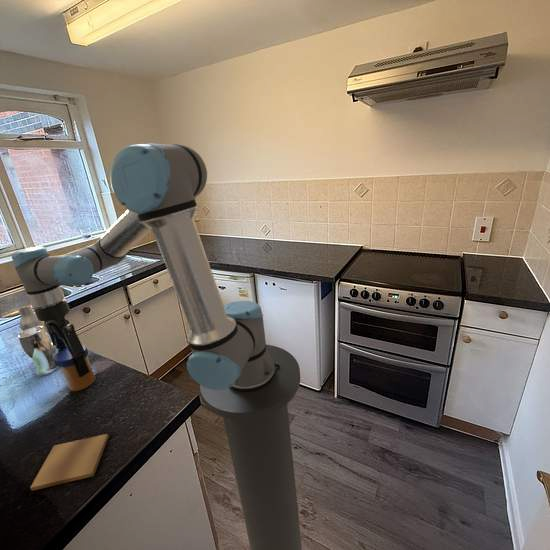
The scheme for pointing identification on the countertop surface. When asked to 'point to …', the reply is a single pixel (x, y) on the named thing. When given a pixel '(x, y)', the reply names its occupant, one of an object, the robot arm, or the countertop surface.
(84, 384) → the jar
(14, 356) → the countertop surface
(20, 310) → the plastic bottle
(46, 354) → the beer glass
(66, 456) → the mat
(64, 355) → the lid
